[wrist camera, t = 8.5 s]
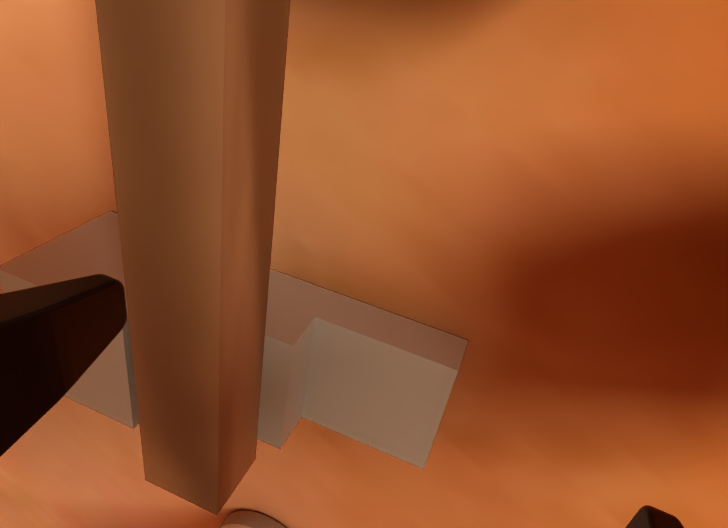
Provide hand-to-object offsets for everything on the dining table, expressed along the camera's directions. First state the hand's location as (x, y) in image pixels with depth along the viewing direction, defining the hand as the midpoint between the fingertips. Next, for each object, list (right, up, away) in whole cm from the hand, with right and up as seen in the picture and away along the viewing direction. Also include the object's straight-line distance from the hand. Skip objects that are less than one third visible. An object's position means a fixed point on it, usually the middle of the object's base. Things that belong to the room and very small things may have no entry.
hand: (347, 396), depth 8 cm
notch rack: (-4, -1, +17) cm, 17 cm away
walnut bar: (-4, +5, +8) cm, 11 cm away
